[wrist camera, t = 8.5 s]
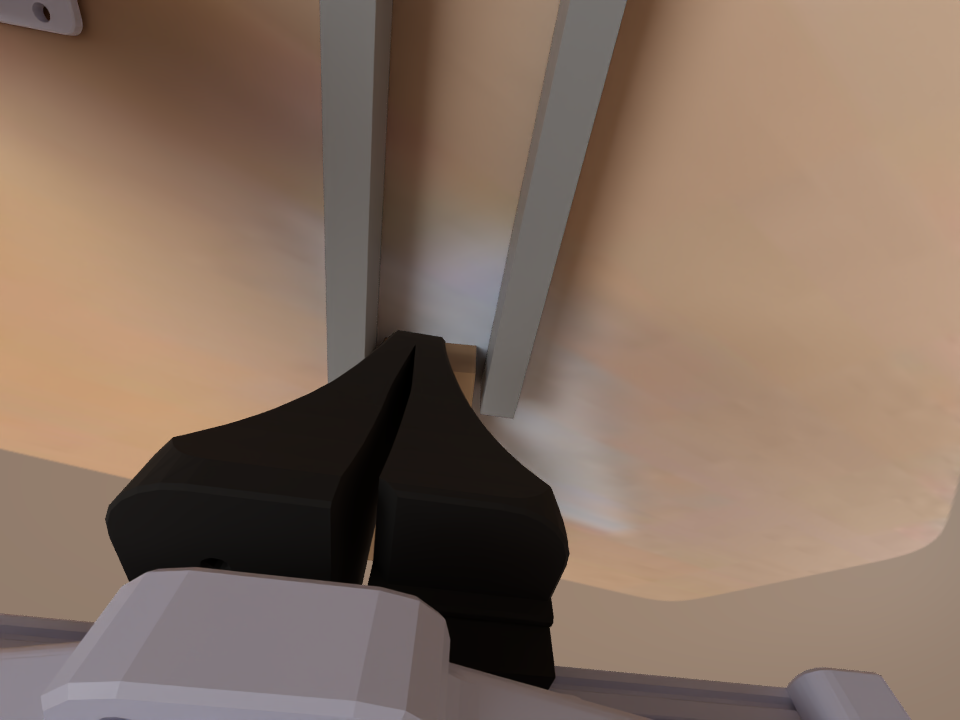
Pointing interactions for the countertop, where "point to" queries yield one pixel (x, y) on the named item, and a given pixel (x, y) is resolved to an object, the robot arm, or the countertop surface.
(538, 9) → the countertop surface
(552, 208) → the channel
